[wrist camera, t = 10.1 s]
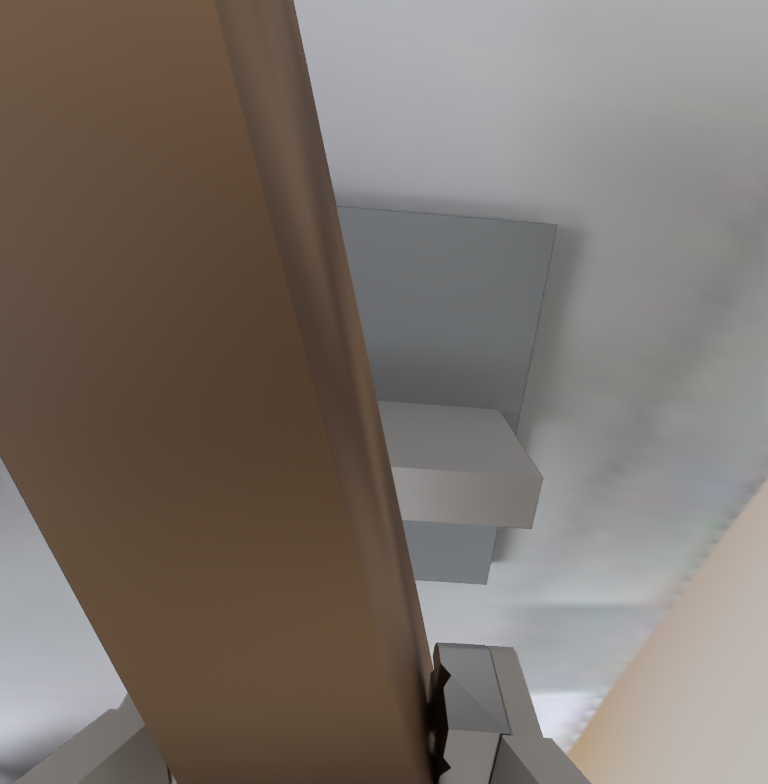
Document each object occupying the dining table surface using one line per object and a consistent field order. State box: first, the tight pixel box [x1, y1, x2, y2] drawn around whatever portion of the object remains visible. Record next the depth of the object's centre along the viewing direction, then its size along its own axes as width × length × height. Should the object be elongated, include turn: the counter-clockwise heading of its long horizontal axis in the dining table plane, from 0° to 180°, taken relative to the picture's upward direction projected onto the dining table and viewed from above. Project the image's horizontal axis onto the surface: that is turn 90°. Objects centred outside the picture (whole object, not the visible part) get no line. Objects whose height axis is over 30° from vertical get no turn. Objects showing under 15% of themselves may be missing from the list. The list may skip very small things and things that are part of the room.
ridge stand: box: [336, 206, 557, 585], centre depth 18 cm, size 14×18×8 cm
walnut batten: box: [0, 0, 435, 784], centre depth 8 cm, size 24×3×5 cm, turn 11°
